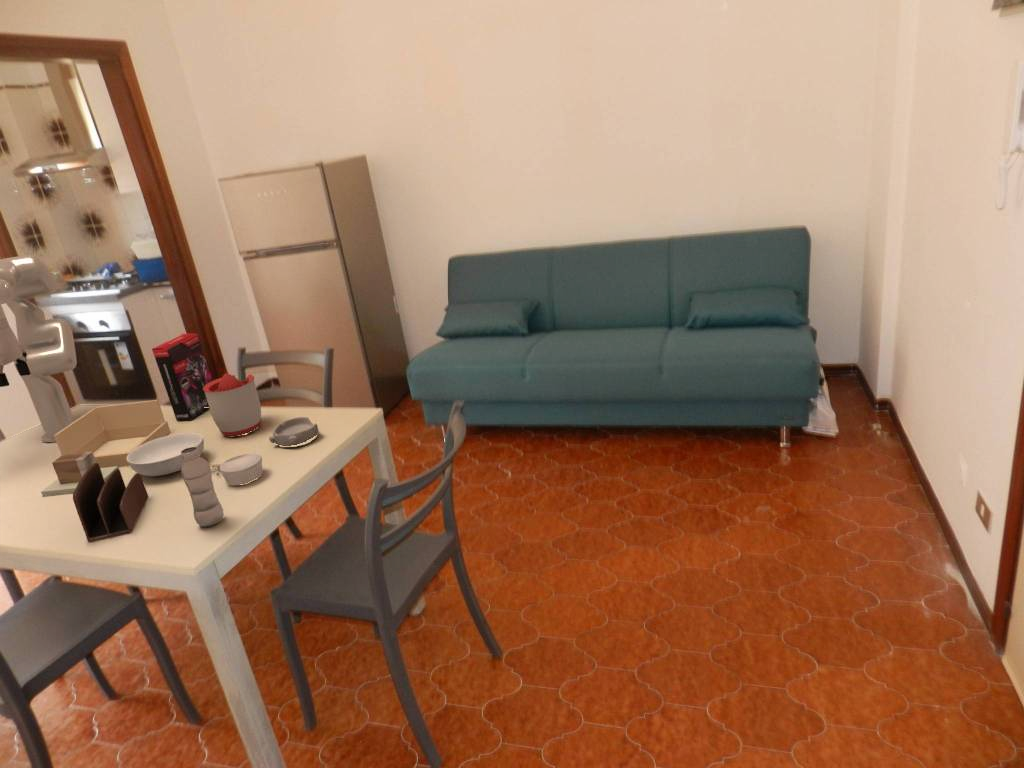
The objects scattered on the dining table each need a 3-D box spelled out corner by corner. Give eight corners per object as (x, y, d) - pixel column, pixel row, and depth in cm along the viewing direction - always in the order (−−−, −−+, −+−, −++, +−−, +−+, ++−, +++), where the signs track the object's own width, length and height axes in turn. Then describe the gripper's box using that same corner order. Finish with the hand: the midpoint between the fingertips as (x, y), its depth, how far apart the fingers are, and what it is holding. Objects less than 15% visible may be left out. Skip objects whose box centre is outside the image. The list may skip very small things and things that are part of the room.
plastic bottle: (202, 518, 173) (179, 446, 166) (229, 514, 173) (207, 442, 166) (193, 532, 167) (169, 458, 160) (221, 527, 167) (198, 453, 160)
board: (68, 476, 208) (66, 472, 207) (119, 470, 207) (118, 466, 206) (42, 496, 196) (40, 491, 196) (97, 490, 196) (95, 485, 195)
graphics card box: (191, 421, 239) (168, 347, 230) (174, 422, 241) (150, 348, 232) (220, 402, 255) (199, 332, 246) (203, 403, 257) (182, 333, 247)
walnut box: (70, 476, 204) (62, 454, 201) (100, 472, 203) (92, 451, 201) (60, 484, 199) (51, 462, 197) (90, 481, 199) (82, 459, 196)
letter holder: (88, 543, 168) (68, 492, 163) (110, 505, 186) (92, 458, 181) (131, 533, 170) (113, 483, 165) (149, 496, 188) (133, 450, 183)
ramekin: (255, 465, 199) (250, 449, 197) (273, 475, 191) (268, 458, 189) (217, 481, 192) (212, 464, 190) (234, 492, 184) (229, 475, 182)
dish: (302, 427, 222) (298, 413, 220) (330, 434, 214) (326, 419, 212) (264, 446, 211) (260, 431, 210) (292, 454, 203) (288, 439, 202)
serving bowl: (224, 453, 210) (218, 432, 208) (172, 487, 192) (164, 465, 189) (171, 450, 217) (165, 430, 215) (116, 483, 199) (109, 461, 197)
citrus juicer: (278, 418, 232) (264, 362, 225) (249, 440, 217) (232, 381, 210) (238, 418, 236) (223, 364, 229) (206, 441, 221) (189, 383, 214)
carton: (107, 439, 233) (95, 406, 229) (170, 432, 232) (160, 399, 228) (64, 472, 210) (50, 437, 206) (134, 464, 210) (121, 429, 205)
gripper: (1, 320, 212) (21, 372, 218) (-41, 336, 196) (-18, 392, 201) (25, 317, 211) (44, 369, 217) (-16, 333, 195) (7, 389, 201)
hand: (14, 380), depth 209 cm, fingers open, 9 cm apart
